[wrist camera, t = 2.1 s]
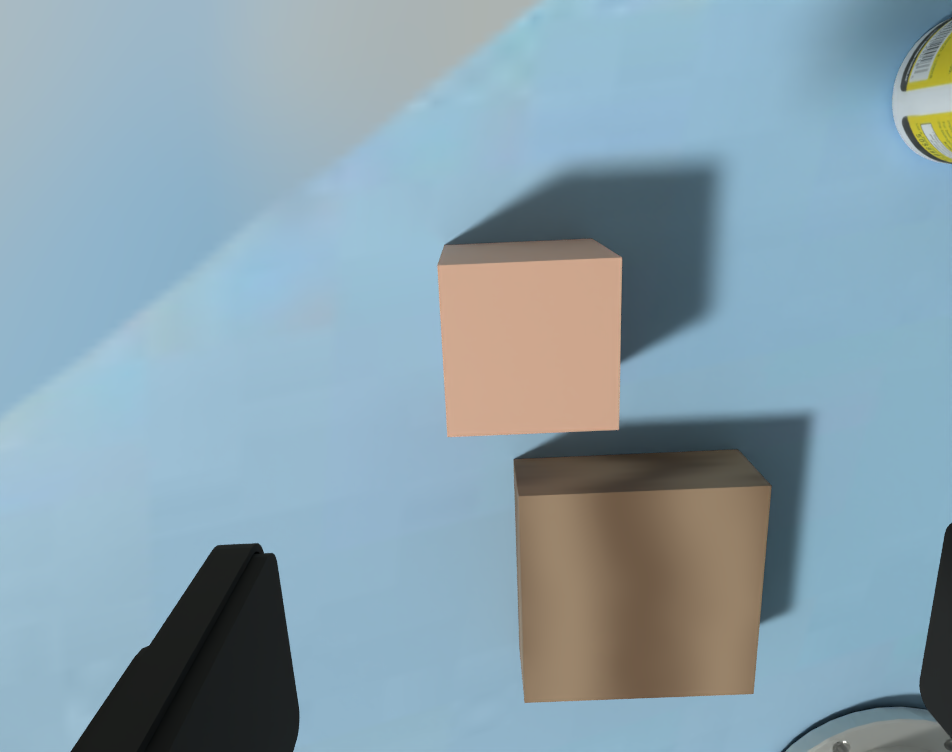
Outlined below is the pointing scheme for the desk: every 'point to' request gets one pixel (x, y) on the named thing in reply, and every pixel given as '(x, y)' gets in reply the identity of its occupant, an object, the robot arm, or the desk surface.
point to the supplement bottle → (926, 95)
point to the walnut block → (639, 574)
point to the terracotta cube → (530, 337)
